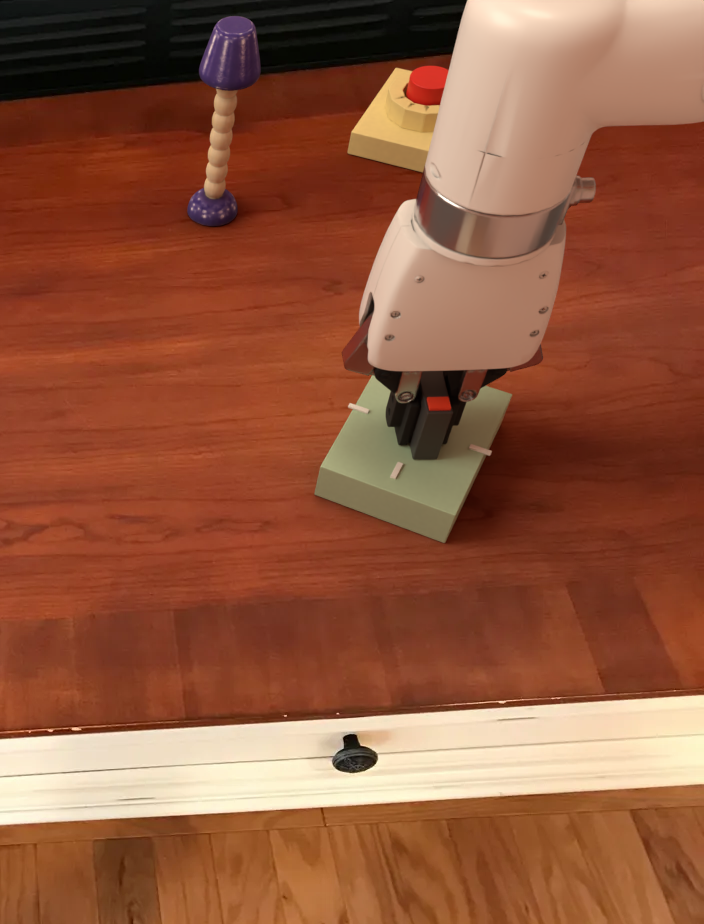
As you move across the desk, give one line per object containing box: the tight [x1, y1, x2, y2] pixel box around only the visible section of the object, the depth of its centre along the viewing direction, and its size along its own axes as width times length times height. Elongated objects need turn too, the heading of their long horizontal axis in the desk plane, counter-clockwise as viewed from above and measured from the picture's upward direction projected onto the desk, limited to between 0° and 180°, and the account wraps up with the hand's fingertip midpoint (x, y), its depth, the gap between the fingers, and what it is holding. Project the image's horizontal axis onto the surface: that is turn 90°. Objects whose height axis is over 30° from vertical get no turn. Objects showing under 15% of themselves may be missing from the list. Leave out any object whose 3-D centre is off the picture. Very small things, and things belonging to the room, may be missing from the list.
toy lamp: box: [186, 15, 262, 227], centre depth 91 cm, size 5×5×17 cm
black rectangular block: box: [409, 371, 453, 459], centre depth 75 cm, size 6×2×5 cm, turn 175°
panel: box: [314, 375, 513, 544], centre depth 78 cm, size 12×10×3 cm
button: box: [406, 65, 449, 106], centre depth 98 cm, size 4×4×2 cm
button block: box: [347, 67, 440, 173], centre depth 100 cm, size 11×9×4 cm
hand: (418, 427), depth 77 cm, fingers closed, pressing on black rectangular block
